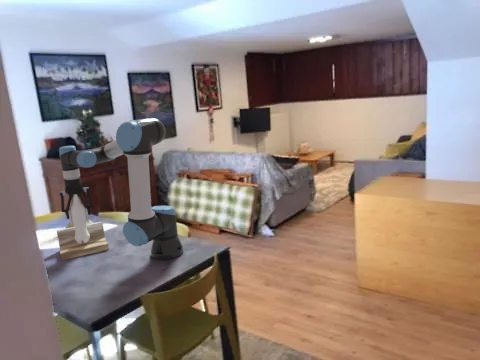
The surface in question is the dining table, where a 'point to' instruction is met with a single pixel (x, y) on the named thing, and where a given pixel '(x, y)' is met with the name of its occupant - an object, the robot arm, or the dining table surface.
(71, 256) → the board
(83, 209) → the water bottle
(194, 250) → the dining table surface
